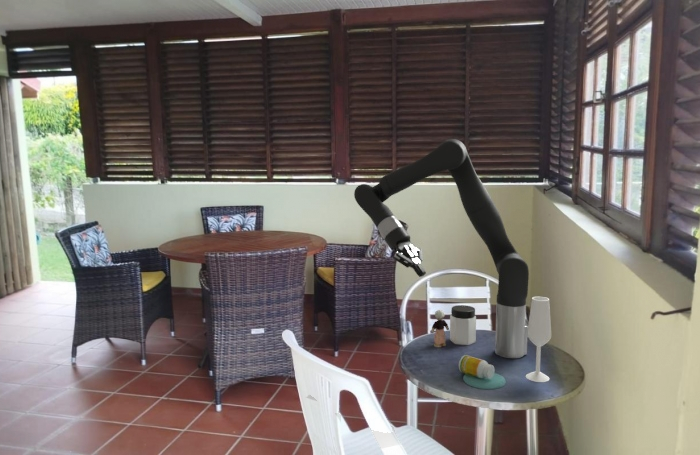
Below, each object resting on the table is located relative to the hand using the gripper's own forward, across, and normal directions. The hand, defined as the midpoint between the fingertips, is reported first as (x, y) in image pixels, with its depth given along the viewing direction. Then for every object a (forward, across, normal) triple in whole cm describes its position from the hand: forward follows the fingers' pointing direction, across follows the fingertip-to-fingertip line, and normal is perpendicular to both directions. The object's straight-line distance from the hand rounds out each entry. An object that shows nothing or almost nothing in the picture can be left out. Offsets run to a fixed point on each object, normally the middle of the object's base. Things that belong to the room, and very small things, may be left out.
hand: (423, 275), depth 172 cm
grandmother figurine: (+18, +14, +22) cm, 32 cm away
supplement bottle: (+28, 0, +7) cm, 29 cm away
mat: (+36, 0, +3) cm, 36 cm away
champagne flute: (+43, +12, -4) cm, 45 cm away
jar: (+20, +23, +20) cm, 36 cm away
